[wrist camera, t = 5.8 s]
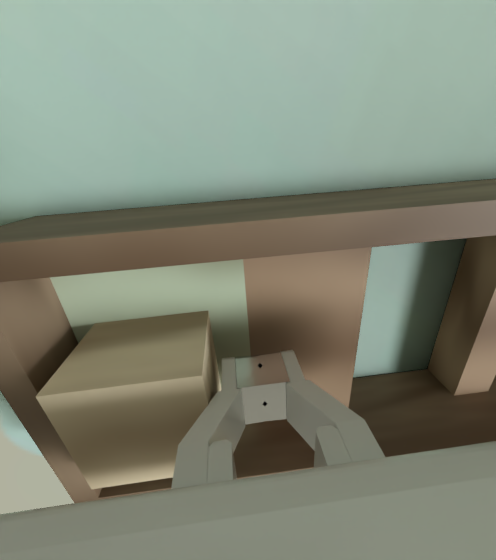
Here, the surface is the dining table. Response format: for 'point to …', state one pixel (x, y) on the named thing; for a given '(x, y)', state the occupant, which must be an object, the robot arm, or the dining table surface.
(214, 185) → the dining table surface
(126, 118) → the dining table surface
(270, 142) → the dining table surface
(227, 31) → the dining table surface
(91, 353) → the block
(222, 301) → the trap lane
